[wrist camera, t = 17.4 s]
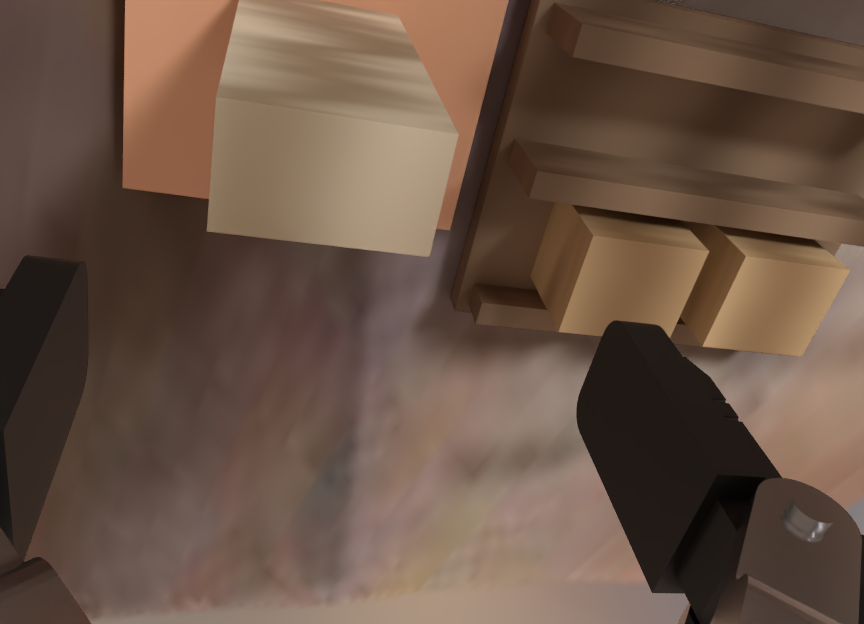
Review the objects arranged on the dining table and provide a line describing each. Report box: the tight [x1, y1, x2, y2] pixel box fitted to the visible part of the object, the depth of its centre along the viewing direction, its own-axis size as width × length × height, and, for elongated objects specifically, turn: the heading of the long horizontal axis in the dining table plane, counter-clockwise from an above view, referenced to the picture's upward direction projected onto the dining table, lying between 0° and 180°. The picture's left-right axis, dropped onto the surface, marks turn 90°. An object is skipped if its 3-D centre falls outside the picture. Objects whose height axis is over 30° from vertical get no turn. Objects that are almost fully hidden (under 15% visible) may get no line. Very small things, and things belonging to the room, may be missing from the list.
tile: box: [123, 0, 509, 230], centre depth 26 cm, size 12×12×1 cm
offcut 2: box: [680, 222, 850, 356], centre depth 31 cm, size 4×4×4 cm
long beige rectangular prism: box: [207, 0, 459, 257], centre depth 21 cm, size 5×3×11 cm, turn 78°
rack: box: [451, 0, 864, 356], centre depth 30 cm, size 16×13×4 cm
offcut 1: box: [530, 202, 709, 338], centre depth 30 cm, size 4×4×4 cm
